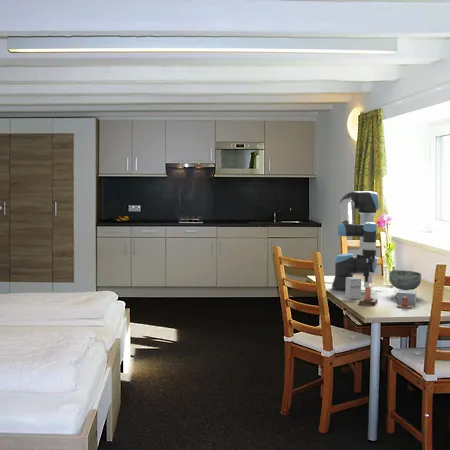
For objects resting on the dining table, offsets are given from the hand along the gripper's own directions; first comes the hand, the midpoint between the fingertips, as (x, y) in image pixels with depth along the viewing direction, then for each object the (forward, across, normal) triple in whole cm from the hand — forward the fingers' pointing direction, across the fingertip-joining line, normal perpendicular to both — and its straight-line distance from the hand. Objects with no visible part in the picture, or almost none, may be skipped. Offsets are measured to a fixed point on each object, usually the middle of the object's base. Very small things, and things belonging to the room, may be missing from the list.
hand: (368, 285), depth 367 cm
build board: (+11, -2, 0) cm, 11 cm away
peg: (+11, +1, 0) cm, 11 cm away
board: (+11, 0, +21) cm, 24 cm away
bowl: (+12, -34, +18) cm, 41 cm away
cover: (+11, -11, +21) cm, 26 cm away
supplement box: (+12, -14, -11) cm, 21 cm away
